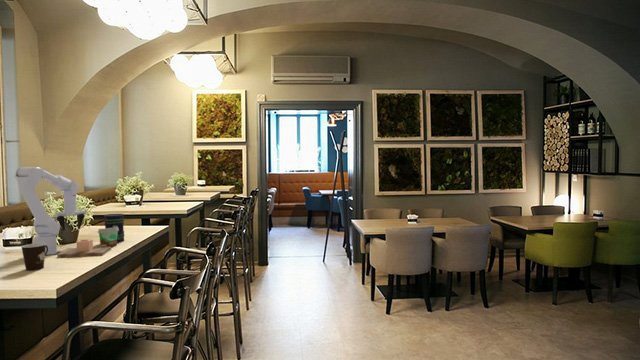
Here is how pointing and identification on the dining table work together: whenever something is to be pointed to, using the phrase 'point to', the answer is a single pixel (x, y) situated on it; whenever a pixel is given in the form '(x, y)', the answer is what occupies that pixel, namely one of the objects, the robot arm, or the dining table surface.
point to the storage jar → (115, 224)
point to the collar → (84, 245)
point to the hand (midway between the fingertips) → (71, 229)
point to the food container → (108, 236)
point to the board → (94, 252)
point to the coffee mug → (34, 256)
